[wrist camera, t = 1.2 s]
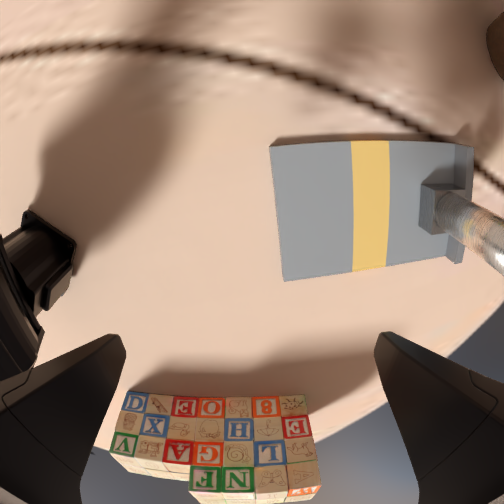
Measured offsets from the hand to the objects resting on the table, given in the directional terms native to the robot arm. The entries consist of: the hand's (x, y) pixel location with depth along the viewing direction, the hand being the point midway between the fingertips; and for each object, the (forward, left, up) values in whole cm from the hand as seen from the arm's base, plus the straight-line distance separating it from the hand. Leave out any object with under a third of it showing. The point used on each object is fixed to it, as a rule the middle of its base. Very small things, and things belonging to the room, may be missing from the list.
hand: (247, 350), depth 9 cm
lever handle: (+12, +10, -13) cm, 20 cm away
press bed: (+8, +7, -13) cm, 16 cm away
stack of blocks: (+9, -22, -13) cm, 27 cm away
